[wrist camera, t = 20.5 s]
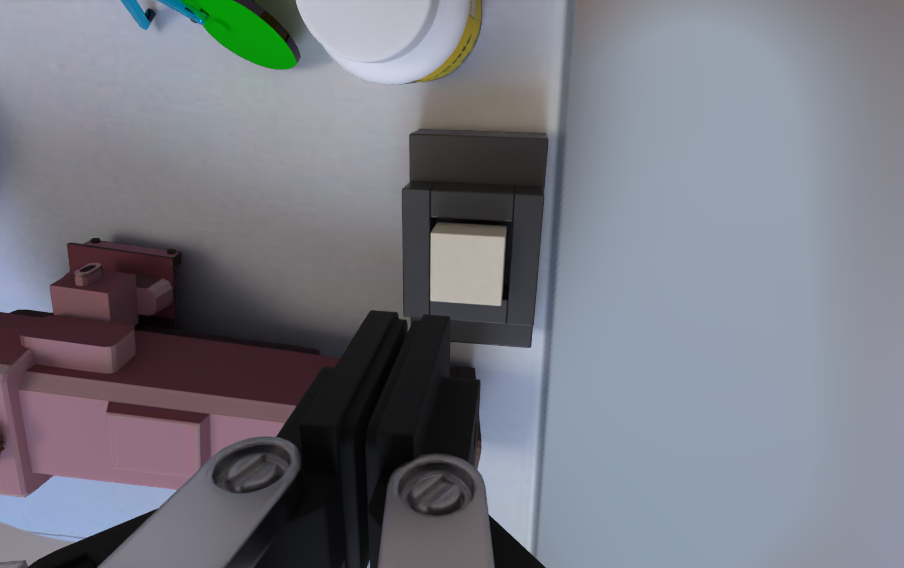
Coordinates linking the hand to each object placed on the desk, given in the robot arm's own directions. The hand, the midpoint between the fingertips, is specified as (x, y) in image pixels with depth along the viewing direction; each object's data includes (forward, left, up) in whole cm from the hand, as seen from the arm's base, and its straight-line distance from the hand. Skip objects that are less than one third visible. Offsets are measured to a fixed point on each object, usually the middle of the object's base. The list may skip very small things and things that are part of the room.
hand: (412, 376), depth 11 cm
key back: (+1, -1, -13) cm, 13 cm away
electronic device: (-3, -16, -16) cm, 23 cm away
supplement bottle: (-8, +4, -16) cm, 19 cm away
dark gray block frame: (+1, -1, -16) cm, 16 cm away
